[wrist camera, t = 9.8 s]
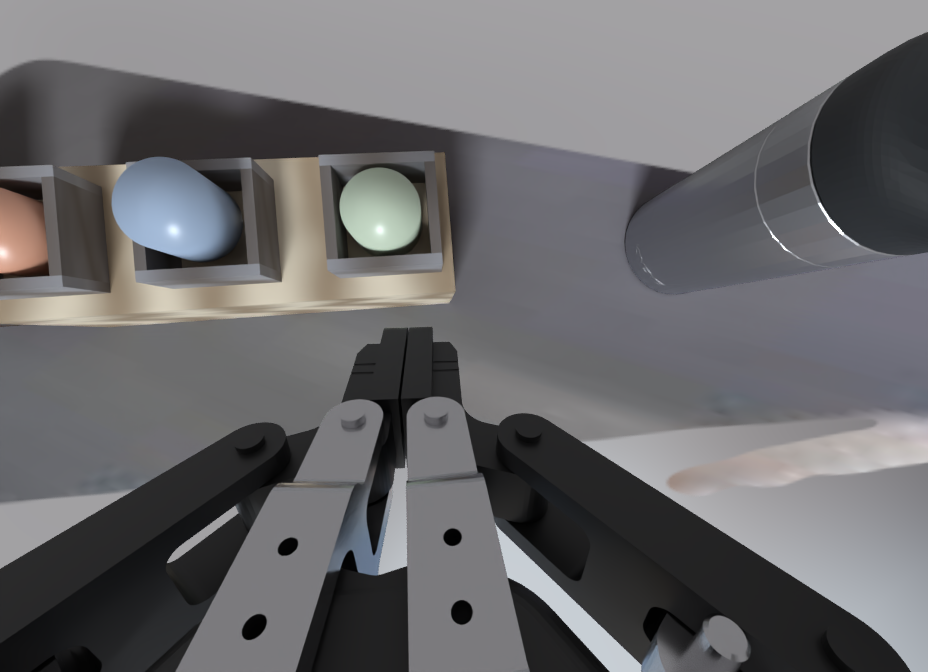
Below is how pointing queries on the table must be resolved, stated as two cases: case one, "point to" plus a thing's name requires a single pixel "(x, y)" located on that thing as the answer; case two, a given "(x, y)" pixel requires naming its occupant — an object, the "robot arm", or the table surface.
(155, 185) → the slate button
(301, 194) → the button console
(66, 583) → the robot arm
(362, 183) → the sage button
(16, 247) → the peach rounded knob
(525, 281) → the table surface
